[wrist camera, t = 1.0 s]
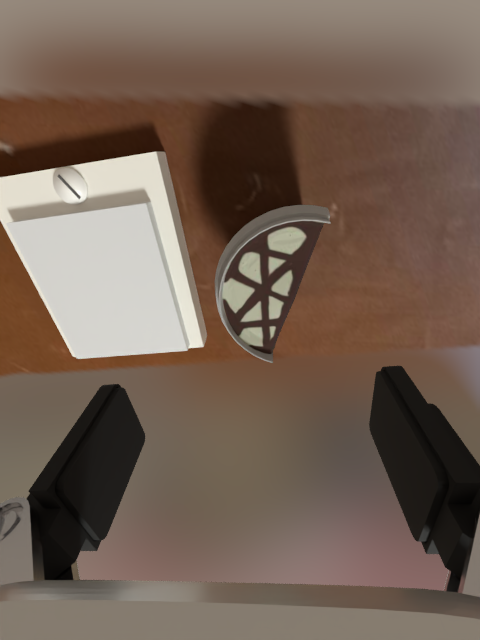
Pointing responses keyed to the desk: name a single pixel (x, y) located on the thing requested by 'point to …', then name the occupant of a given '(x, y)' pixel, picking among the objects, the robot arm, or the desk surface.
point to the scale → (107, 254)
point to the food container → (265, 274)
